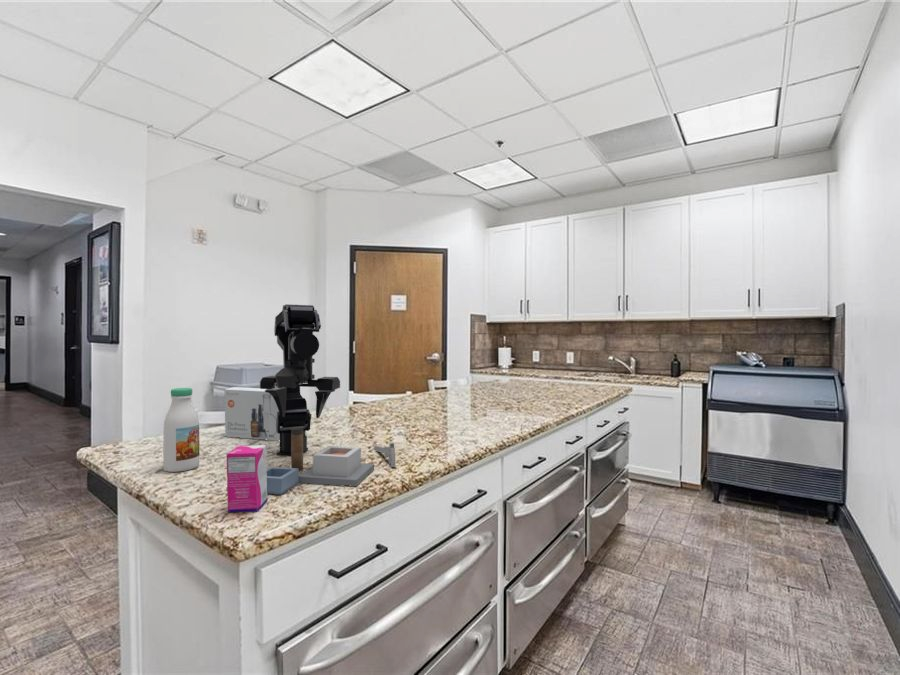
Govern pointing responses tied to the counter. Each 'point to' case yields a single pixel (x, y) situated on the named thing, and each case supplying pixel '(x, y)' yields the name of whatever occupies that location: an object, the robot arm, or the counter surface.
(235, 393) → the skincare box
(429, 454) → the counter surface
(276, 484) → the blue square tray
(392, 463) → the caliper
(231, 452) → the supplement box
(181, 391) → the milk bottle
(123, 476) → the counter surface
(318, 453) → the grey square holder
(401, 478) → the counter surface
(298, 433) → the brown wooden cylinder
